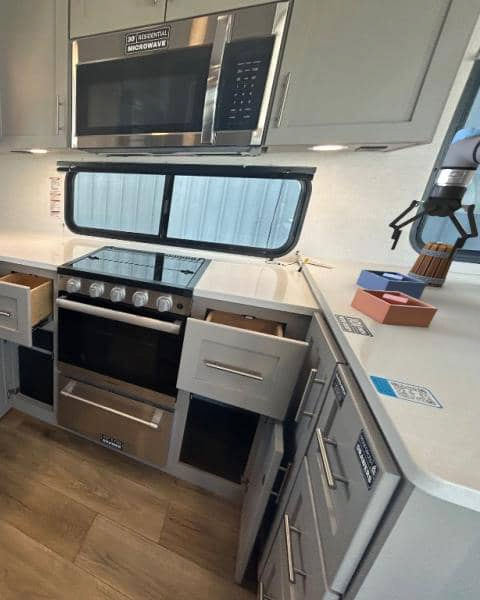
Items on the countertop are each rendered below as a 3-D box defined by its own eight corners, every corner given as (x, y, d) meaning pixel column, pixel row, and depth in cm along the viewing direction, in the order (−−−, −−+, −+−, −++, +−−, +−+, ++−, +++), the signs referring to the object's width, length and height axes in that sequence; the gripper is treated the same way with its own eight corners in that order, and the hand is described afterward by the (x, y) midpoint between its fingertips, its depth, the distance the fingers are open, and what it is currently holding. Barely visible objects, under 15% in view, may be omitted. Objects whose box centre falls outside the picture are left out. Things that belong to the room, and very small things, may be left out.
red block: (400, 315, 94) (408, 299, 92) (397, 319, 91) (405, 303, 89) (378, 308, 97) (385, 293, 95) (375, 313, 94) (382, 297, 92)
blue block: (397, 290, 115) (403, 276, 113) (395, 293, 112) (401, 279, 110) (378, 286, 118) (384, 272, 116) (376, 288, 115) (382, 275, 113)
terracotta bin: (428, 327, 88) (438, 308, 86) (381, 323, 89) (390, 305, 87) (391, 308, 100) (399, 291, 98) (350, 305, 100) (357, 288, 98)
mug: (443, 289, 121) (464, 249, 115) (405, 281, 127) (423, 243, 121) (440, 280, 132) (459, 243, 126) (405, 273, 138) (421, 238, 132)
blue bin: (419, 298, 109) (427, 283, 107) (382, 296, 110) (388, 280, 108) (390, 286, 121) (396, 271, 119) (356, 283, 121) (361, 269, 119)
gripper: (394, 182, 106) (369, 247, 114) (516, 188, 89) (476, 264, 97) (397, 182, 110) (373, 245, 118) (513, 188, 94) (476, 260, 102)
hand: (419, 253), depth 108 cm, fingers open, 13 cm apart
